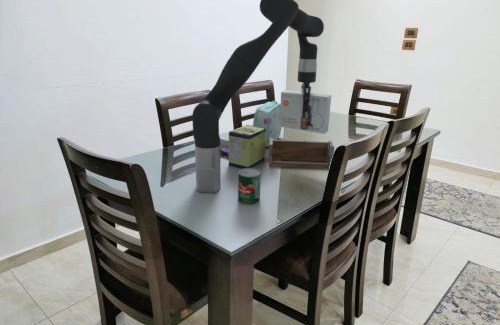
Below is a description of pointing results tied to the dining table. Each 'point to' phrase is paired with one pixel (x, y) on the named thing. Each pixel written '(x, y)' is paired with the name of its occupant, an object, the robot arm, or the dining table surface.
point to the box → (224, 148)
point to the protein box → (247, 146)
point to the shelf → (300, 153)
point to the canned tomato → (249, 186)
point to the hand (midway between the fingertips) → (304, 109)
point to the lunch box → (268, 120)
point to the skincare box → (301, 120)
